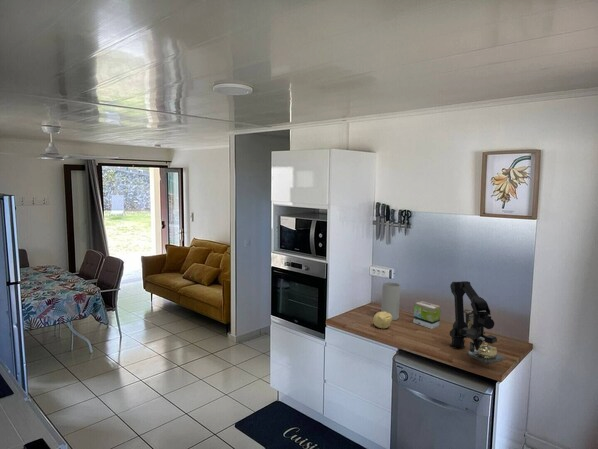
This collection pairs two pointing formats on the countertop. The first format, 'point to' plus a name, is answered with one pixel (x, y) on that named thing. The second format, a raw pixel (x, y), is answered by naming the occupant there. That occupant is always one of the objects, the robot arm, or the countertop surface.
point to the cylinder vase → (391, 299)
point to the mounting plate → (487, 360)
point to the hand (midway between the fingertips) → (477, 350)
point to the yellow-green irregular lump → (483, 350)
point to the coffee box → (468, 317)
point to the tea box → (426, 314)
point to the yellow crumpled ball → (382, 319)
